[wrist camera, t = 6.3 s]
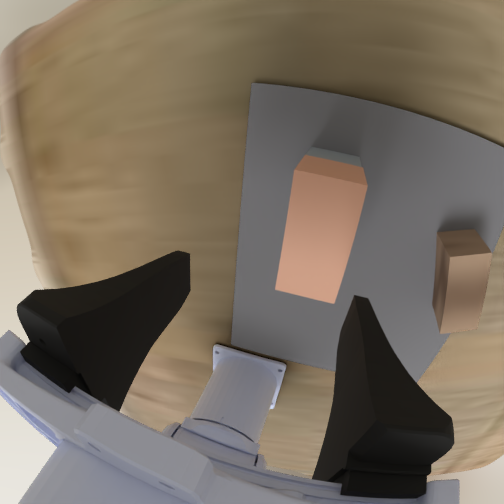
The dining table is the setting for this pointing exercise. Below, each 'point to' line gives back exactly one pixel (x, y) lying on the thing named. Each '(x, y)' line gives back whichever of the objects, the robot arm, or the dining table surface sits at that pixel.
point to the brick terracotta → (320, 227)
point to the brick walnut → (460, 279)
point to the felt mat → (370, 223)
